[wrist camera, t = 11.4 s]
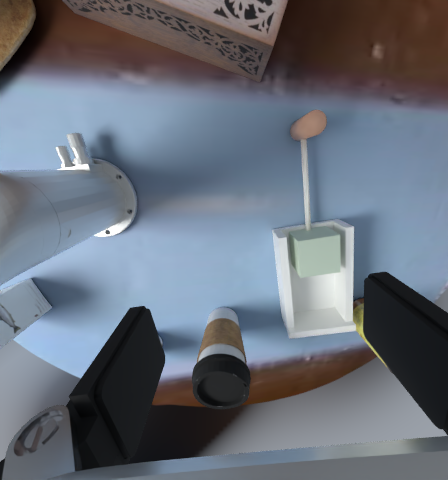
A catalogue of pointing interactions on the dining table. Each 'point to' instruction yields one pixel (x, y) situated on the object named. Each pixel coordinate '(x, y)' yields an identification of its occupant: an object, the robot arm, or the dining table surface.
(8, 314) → the supplement box
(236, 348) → the coffee cup
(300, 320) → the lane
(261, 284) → the dining table surface
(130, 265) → the dining table surface
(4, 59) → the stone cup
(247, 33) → the tissue box cover
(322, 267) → the sliding handle
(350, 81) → the dining table surface
